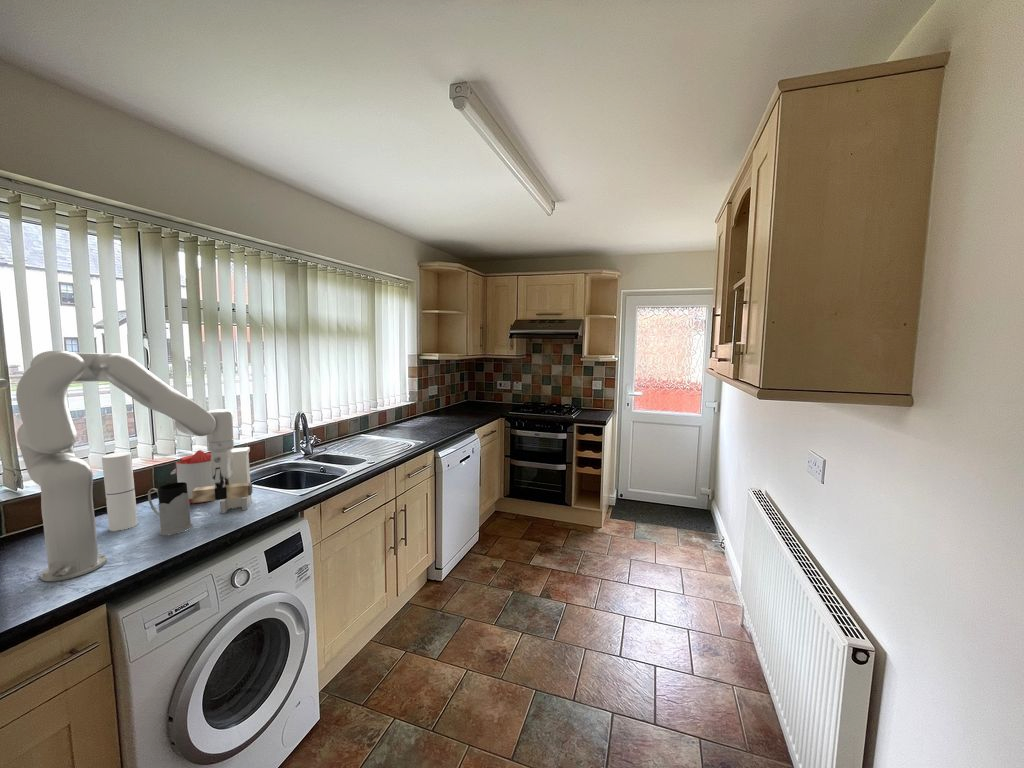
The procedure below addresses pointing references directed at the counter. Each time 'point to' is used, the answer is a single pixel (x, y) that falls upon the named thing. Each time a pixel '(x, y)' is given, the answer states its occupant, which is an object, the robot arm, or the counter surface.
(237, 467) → the tall white box
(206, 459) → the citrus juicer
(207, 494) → the rail
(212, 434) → the robot arm
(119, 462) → the cylindrical container
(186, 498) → the grey mug
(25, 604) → the counter surface
